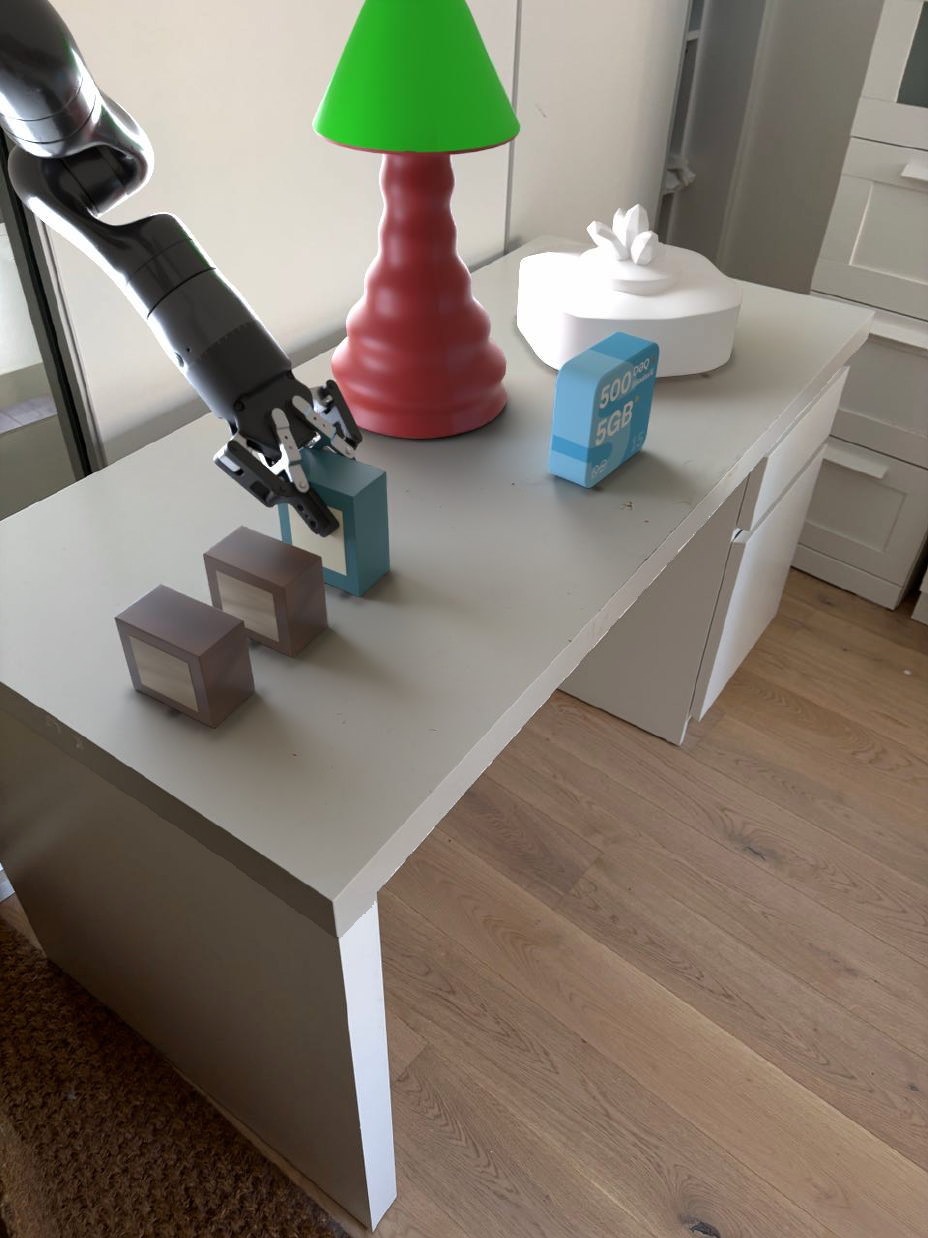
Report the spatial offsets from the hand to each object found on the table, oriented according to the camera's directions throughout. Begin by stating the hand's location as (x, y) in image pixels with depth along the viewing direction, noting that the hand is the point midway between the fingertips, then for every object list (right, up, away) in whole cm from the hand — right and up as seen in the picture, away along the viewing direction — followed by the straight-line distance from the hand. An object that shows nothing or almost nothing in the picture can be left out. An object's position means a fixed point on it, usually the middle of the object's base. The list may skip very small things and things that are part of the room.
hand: (351, 516), depth 80 cm
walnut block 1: (-11, -14, -7) cm, 19 cm away
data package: (+23, +7, +20) cm, 31 cm away
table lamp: (+4, +16, +29) cm, 34 cm away
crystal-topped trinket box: (+30, +28, +44) cm, 60 cm away
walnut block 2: (-6, -9, -1) cm, 11 cm away
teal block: (-2, -4, +5) cm, 6 cm away
